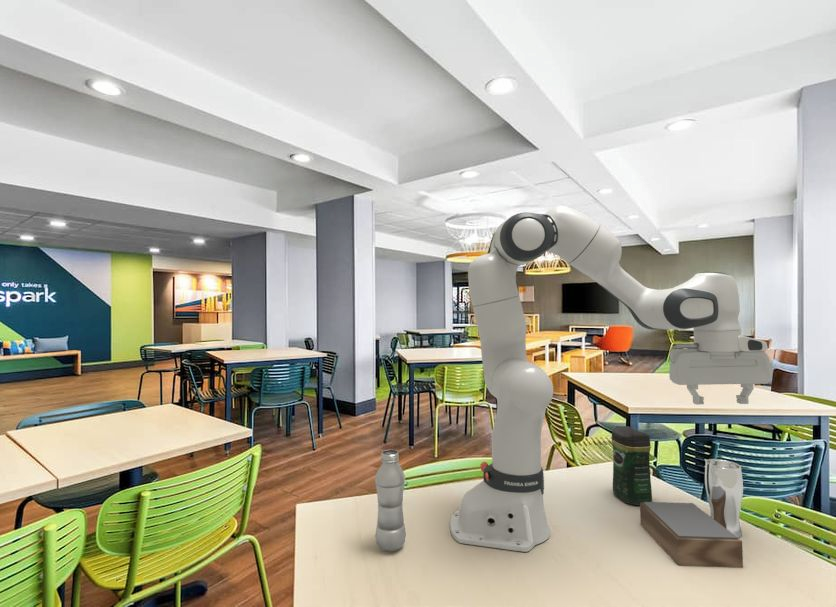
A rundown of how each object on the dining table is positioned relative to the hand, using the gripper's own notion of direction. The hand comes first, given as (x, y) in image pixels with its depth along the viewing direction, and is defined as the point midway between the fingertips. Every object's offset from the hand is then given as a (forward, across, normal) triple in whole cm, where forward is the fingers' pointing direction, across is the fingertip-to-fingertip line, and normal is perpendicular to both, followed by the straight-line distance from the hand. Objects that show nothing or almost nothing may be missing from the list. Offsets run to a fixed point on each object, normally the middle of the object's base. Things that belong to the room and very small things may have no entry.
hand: (720, 403), depth 95 cm
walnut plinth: (+28, -12, -6) cm, 31 cm away
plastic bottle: (+27, -75, -13) cm, 80 cm away
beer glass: (+29, 0, 0) cm, 29 cm away
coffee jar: (+28, -14, +16) cm, 36 cm away
